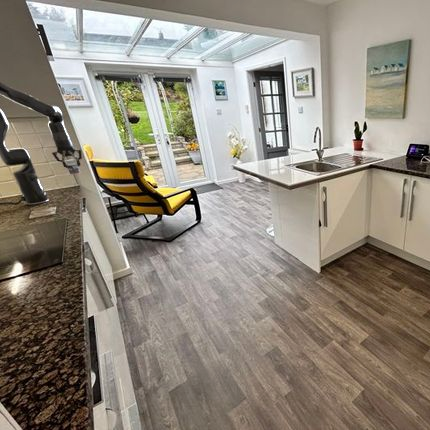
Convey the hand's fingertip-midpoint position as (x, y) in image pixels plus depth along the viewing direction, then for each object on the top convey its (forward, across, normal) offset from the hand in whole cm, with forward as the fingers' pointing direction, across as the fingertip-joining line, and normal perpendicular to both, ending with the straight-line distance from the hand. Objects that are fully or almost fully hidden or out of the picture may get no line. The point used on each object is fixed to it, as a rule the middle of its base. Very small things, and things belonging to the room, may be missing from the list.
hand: (72, 166), depth 167 cm
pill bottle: (+5, 0, 0) cm, 5 cm away
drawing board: (+20, +18, +26) cm, 37 cm away
